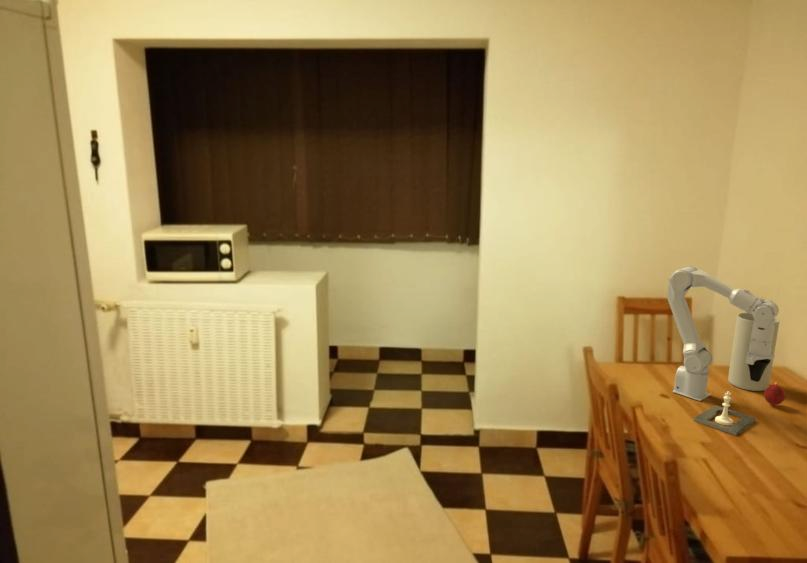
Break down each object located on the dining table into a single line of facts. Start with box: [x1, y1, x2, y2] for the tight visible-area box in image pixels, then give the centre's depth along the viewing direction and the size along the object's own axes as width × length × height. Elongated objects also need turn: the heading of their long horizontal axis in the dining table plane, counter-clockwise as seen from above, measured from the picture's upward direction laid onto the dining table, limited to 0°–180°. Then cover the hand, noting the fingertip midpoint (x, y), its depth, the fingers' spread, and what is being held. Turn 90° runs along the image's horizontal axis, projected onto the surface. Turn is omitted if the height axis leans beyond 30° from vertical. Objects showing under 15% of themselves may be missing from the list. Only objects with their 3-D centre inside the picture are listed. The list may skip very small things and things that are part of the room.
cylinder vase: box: [727, 312, 780, 392], centre depth 197 cm, size 12×12×25 cm
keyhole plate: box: [693, 404, 757, 437], centre depth 172 cm, size 14×12×1 cm
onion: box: [763, 382, 786, 406], centre depth 182 cm, size 6×6×8 cm
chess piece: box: [714, 390, 734, 426], centre depth 171 cm, size 5×5×10 cm
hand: (755, 380), depth 177 cm, fingers closed
